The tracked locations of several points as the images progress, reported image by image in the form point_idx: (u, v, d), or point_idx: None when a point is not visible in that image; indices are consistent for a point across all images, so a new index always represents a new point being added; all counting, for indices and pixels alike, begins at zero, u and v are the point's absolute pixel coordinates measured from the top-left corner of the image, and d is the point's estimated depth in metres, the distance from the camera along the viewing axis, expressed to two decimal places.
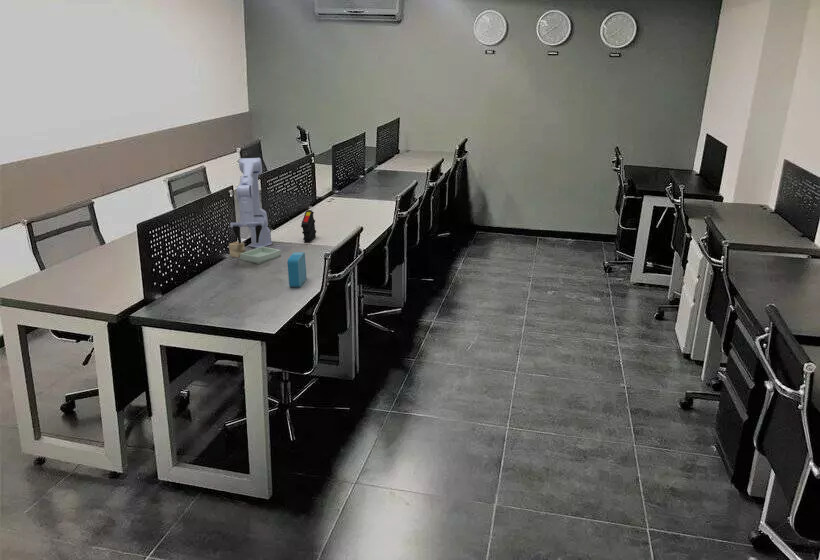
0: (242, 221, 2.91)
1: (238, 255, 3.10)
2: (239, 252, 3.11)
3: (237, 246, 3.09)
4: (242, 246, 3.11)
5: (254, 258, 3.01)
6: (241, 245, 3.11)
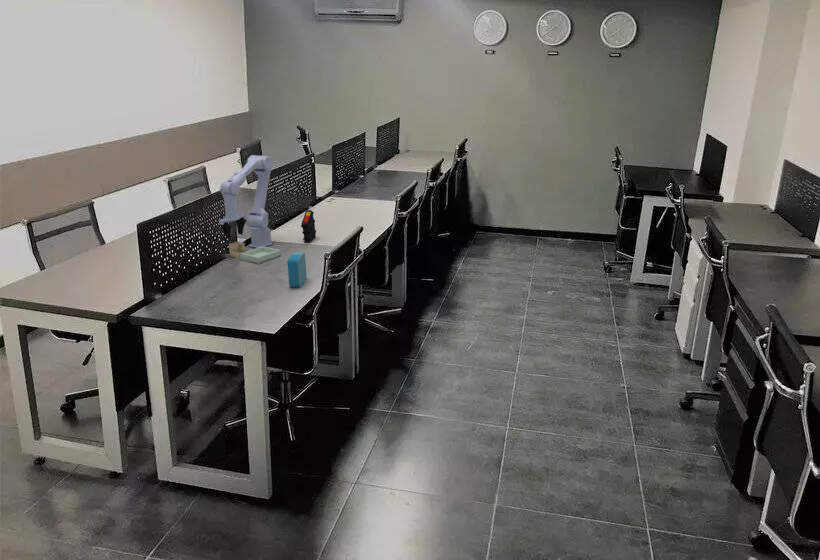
0: None
1: (238, 255, 3.10)
2: (239, 252, 3.11)
3: (237, 246, 3.09)
4: (242, 246, 3.11)
5: (254, 258, 3.01)
6: (241, 245, 3.11)
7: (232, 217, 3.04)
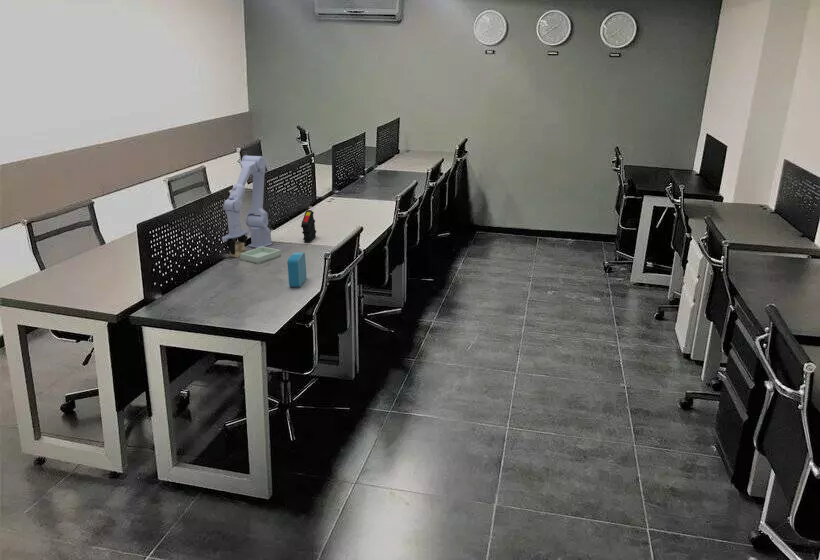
0: None
1: (238, 255, 3.10)
2: (239, 252, 3.11)
3: (237, 246, 3.09)
4: (242, 246, 3.11)
5: (254, 258, 3.01)
6: (241, 245, 3.11)
7: (235, 234, 3.07)
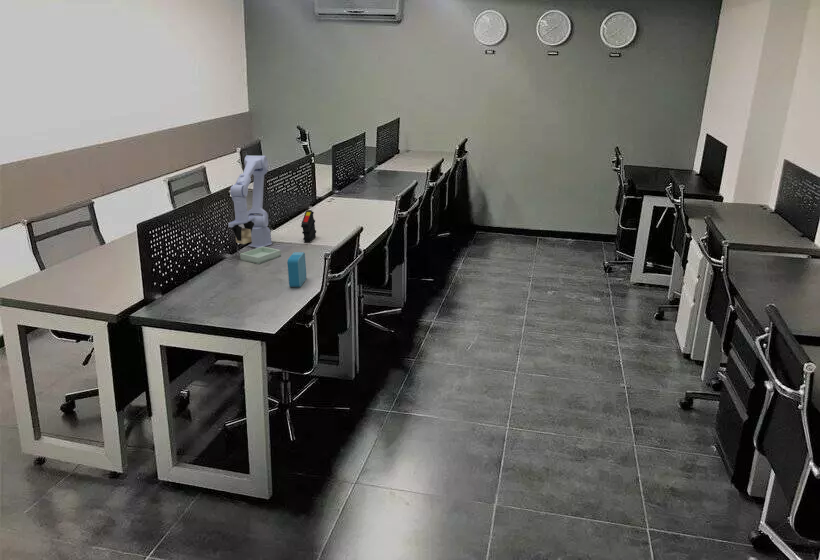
0: None
1: (244, 241, 3.07)
2: (245, 238, 3.07)
3: (243, 232, 3.05)
4: (248, 232, 3.08)
5: (254, 258, 3.01)
6: (247, 231, 3.07)
7: (241, 220, 3.03)
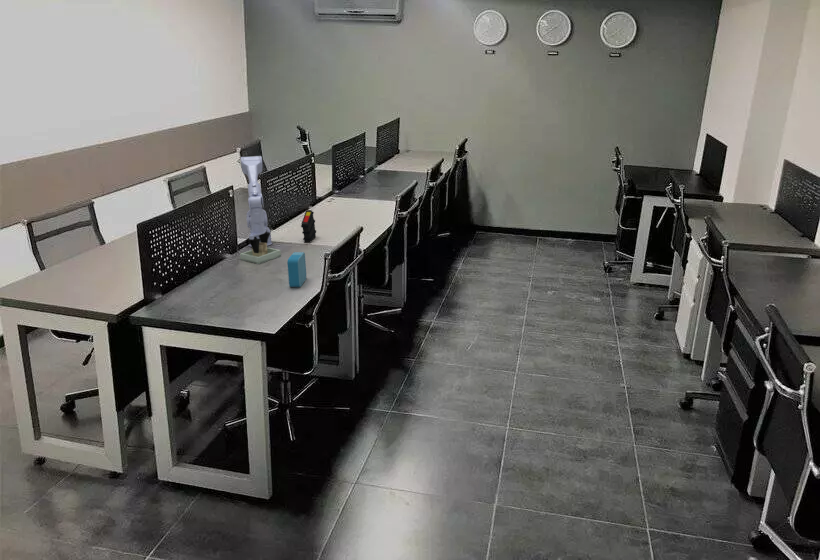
0: None
1: None
2: (263, 252, 3.07)
3: (262, 246, 3.05)
4: (265, 246, 3.08)
5: (254, 258, 3.01)
6: (265, 245, 3.07)
7: (260, 231, 3.02)
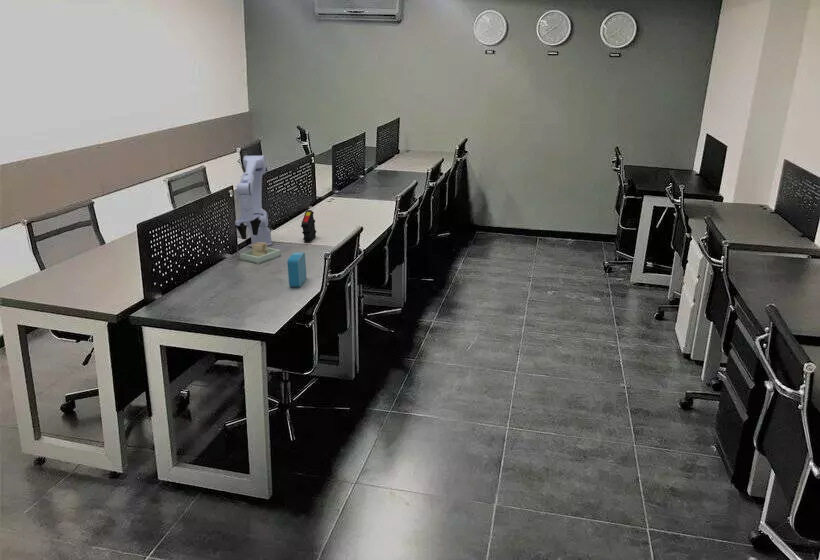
0: None
1: None
2: (263, 252, 3.07)
3: (262, 246, 3.05)
4: (265, 246, 3.08)
5: (254, 258, 3.01)
6: (265, 245, 3.07)
7: (248, 218, 3.03)
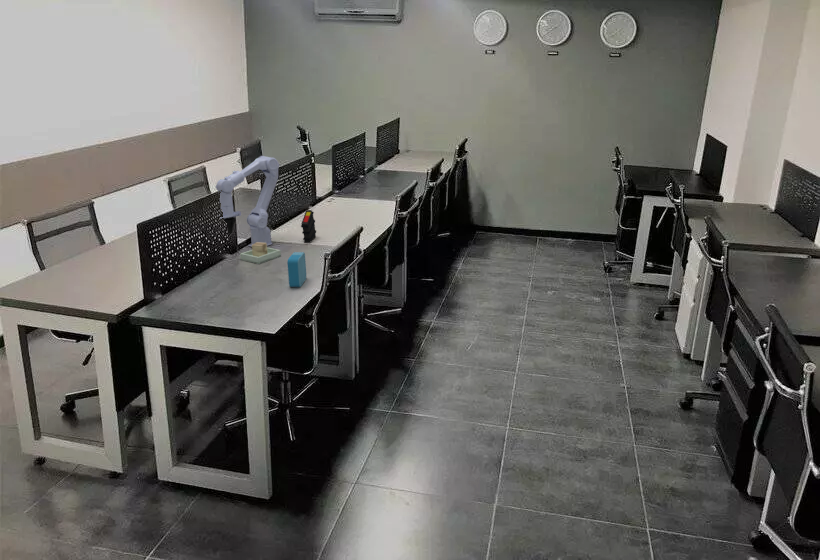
0: None
1: None
2: (263, 252, 3.07)
3: (262, 246, 3.05)
4: (265, 246, 3.08)
5: (254, 258, 3.01)
6: (265, 245, 3.07)
7: (227, 214, 3.09)
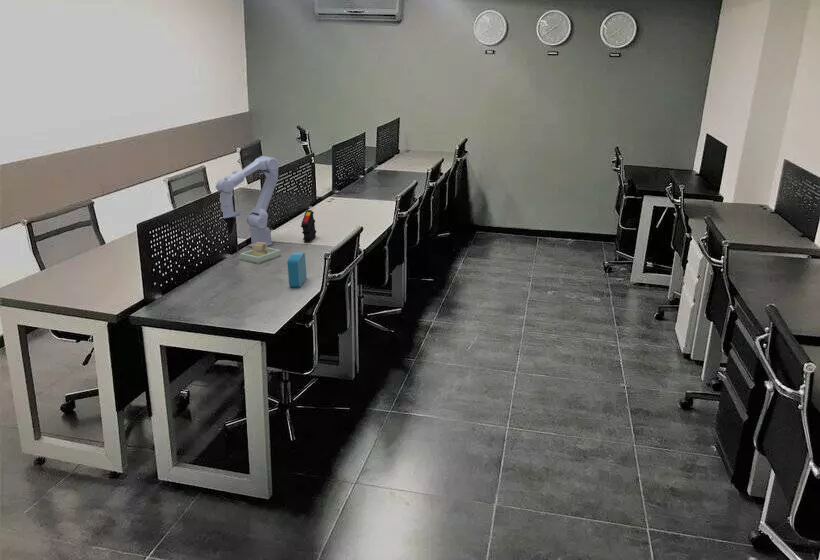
0: None
1: None
2: (263, 252, 3.07)
3: (262, 246, 3.05)
4: (265, 246, 3.08)
5: (254, 258, 3.01)
6: (265, 245, 3.07)
7: (227, 214, 3.09)
